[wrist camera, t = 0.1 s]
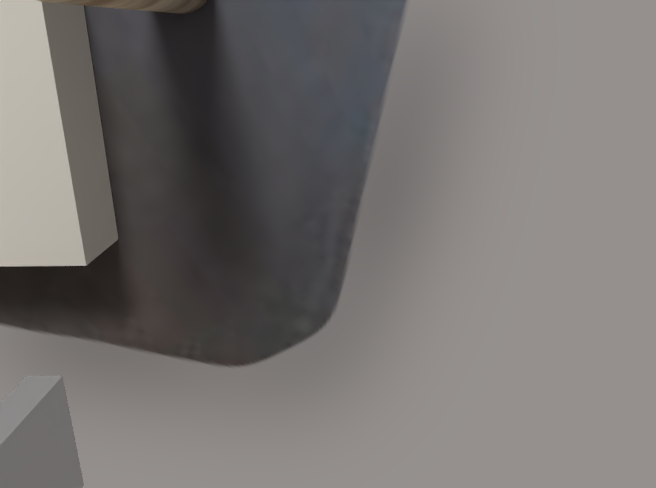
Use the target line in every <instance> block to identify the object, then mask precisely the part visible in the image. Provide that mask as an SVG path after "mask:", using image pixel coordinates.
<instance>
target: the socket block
mask: <svg viewBox="0 0 656 488" xmlns="http://www.w3.org/2000/svg"><path fill="white" fill-rule="evenodd" d="M117 240H118V233H117V226H116V219H115V213H114V206H113V199H112V193H111V186H110V179H109V172H108V166H107V159H106V152H105V146H104V139H103V132H102V125H101V119H100V112H99V105H98V99H97V92H96V85H95V79H94V72H93V65H92V58H91V52H90V45H89V38H88V32H87V25H86V18H85V12H84V5H73V4H61V3H50V2H42V1H37V0H0V266H87V265H88V264H89V263H90V262H91V261H93V260H94V259H95V258H96V257H97V256H99V255H100V254H101V253H102V252H104V251H105V250H106V249H107V248H108V247H110V246H111V245H112V244H113V243H114V242H116V241H117Z"/></svg>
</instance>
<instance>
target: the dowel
mask: <svg viewBox="0 0 656 488" xmlns="http://www.w3.org/2000/svg"><path fill="white" fill-rule="evenodd" d="M37 1H42V2H50V3H61V4H73V5H85V6H96V7H108V8H119V9H131V10H143V11H154V12H166V13H178V14H186V13H191V12H194V11H196V10H198V9H199V8H201V7H202V6H203V5H204V4H205V3H206V2H207V0H37Z"/></svg>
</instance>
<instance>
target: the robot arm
mask: <svg viewBox="0 0 656 488" xmlns="http://www.w3.org/2000/svg"><path fill="white" fill-rule="evenodd" d="M83 485H84V484H83V478H82V473H81V469H80V463H79V458H78V453H77V448H76V443H75V437H74V432H73V427H72V422H71V417H70V412H69V407H68V403H67V397H66V392H65V387H64V381H63V377H62V376H26V378H25V379H23V380H22V381H21V382H20V383H19V384H18V385H17V386H16V387H15V388H14V389H13V390H12V391H11V392H10V393H9V394H8V395H7V396H6V397H5V398H4V399H3V400H2V401H1V402H0V488H82V487H83Z"/></svg>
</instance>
